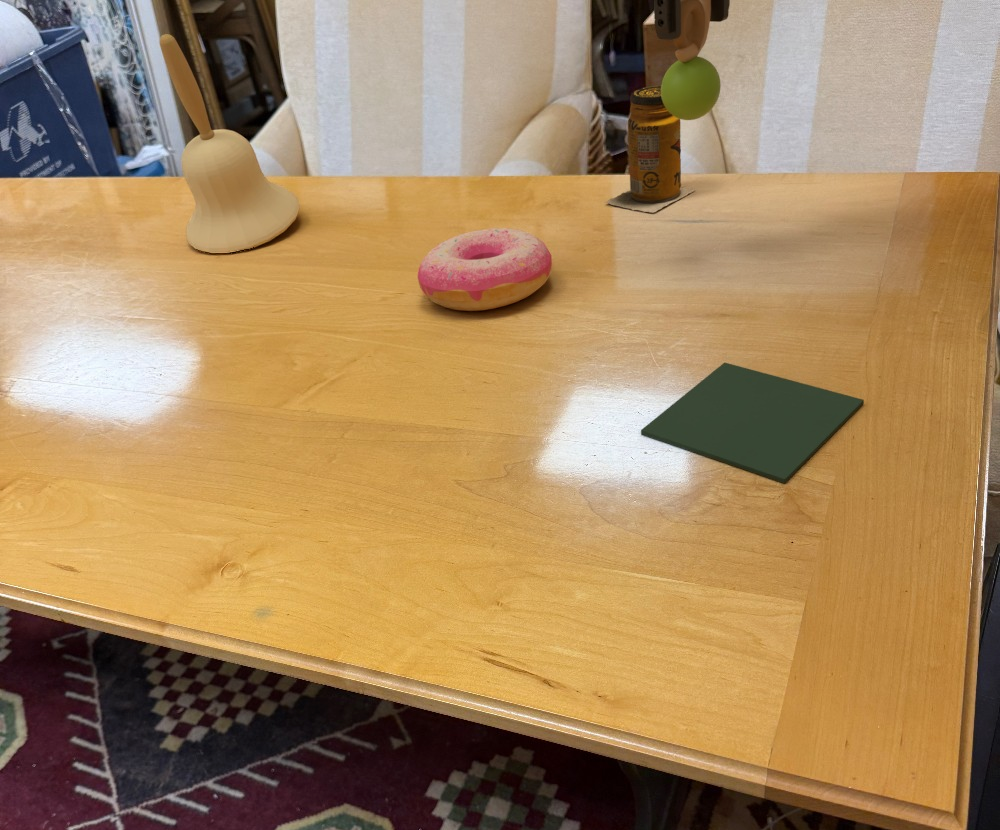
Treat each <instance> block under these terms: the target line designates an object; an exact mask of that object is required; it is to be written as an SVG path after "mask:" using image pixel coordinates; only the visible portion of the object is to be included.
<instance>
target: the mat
mask: <svg viewBox="0 0 1000 830" xmlns="http://www.w3.org/2000/svg"><path fill="white" fill-rule="evenodd" d="M864 403H865V400H864V399H863V398H858V397H855V396H853V395H851V396H850V395H847V394H845V393H841V392H837V391H833V390H829V389H825V388H822V387H817V386H814V385H810V384H807V383H803V382H800V381H795V380H791V379H788V378H784V377H781V376H778V375H772V374H770V373H766V372H762V371H758V370H754V369H751V368H748V367H743V366H740V365H736V364H732V363H728V362H723V363H722V364H721V365H719V366H718V367H717V368H716V369H714V370H713V371H712V372H711V373H709V374H708V375H707V376H706V377H705V378H703V379H702V380H701V381H699V382H698V383H697V384H696V385H694V386H693V387H692V388H691V389H689V390H688V391H687V392H686V393H684V394H683V395H682V396H681V397H680V398H678V399H677V400H676V401H675V402H674V403H672V404H671V405H670V406H669V407H667V408H666V409H665V410H664V411H663V412H661V413H660V414H659V415H658V416H657V417H655V418H654V419H652V421H650V422H649V423H648V424H646V426H644V427H643V428H642V429H640V435H642V436H644V437H648V438H651V439H654V440H658V441H659V442H662V443H665V444H669V445H671V446H674V447H676V448H680V449H683V450H686V451H689V452H692V453H695V454H697V455H700V456H702V457H706V458H709V459H712V460H715V461H717V462H721V463H724V464H727V465H730V466H732V467H736V468H738V469H740V470H744V471H746V472H750V473H753V474H756V475H759V476H761V477H764V478H767V479H771V480H773V481H776V482H779V483H782V484H786V483H787V482H788V481H789V480H790V479H791V478H792V477H793V476H794V475H795V474H796V473H797V472H798V471H799V470H800V469H801V468H802V467H803V466H804V465H805V464H806V463H807V462H808V461H809V460H810V459H811V457H813V456H814V455H815V453H817V452H818V451H819V449H821V448H822V446H823V445H825V444H826V443H827V442H828V440H830V438H832V436H833V435H835V434H836V433H837V432H838V430H840V428H841V427H842V426H843V425H844V424H845V423H847V421H848V420H849V419H850V418H852V416H853V415H854V414H855V413H856V412H857V411H859V409H860V408H861V407H862V406H863V405H864Z"/></svg>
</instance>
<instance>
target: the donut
mask: <svg viewBox="0 0 1000 830" xmlns="http://www.w3.org/2000/svg"><path fill="white" fill-rule="evenodd" d="M552 268H553V259H552V253H551V251H550V250H549V248H548V247H547V245H546V243H545V242H544V241H543V240H542V239H540V238H539V237H537V236H536V235H533V234H532V233H530V232H527V231H524V230H520V229H515V228H504V227H503V228H502V227H500V228H499V227H497V228H495V227H494V228H484V229H478V230H473V231H469V232H465V233H461V234H458V235H455V236H453V237H450V238H448V239H446V240H443V241H441V242H440V243H439V244H437V245H435V246H434V247H433V248H432V249H431V250H430V251H429V252H428V253H427V254H426V255H425V256H424V257H423V258H422V260H421V262H420V264H419V267H418V271H417V282H418V286H419V288H420V289H421V292H422V293H423V294H424V295H425V297H427V299H428V300H429V301H431V302H433V303H434V304H436V305H439V306H440V307H442V308H447V309H449V310H454V311H465V312H473V311H474V312H475V311H487V310H493V309H497V308H501V307H506V306H509V305H511V304H514V303H518V302H519V301H521V300H523V299H527V298H528V297H529V296H531V295H532V294H534V293H535V292H536V291H537V290H539V289H540V288H541V287H543V285H545V284H546V282H547V281H548V279H549V278H550V275H551V272H552V270H553V269H552Z"/></svg>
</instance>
